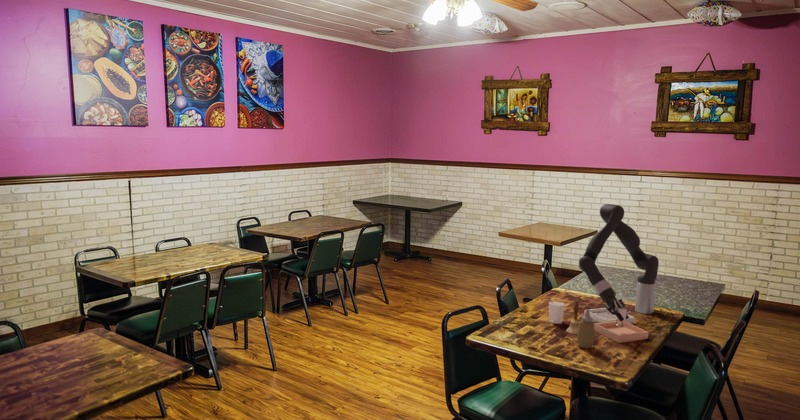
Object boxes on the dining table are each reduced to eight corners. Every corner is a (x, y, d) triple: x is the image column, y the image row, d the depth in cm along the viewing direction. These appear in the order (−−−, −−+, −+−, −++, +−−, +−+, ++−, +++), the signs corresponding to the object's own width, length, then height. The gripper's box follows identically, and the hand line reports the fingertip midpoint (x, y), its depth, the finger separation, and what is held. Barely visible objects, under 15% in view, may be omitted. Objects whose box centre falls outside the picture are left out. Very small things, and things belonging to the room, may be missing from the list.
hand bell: (564, 328, 290) (566, 298, 288) (580, 329, 290) (582, 299, 288) (568, 334, 282) (570, 303, 280) (585, 335, 282) (587, 304, 279)
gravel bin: (610, 313, 317) (610, 307, 317) (633, 323, 300) (634, 317, 300) (584, 316, 311) (584, 310, 310) (606, 326, 294) (607, 320, 294)
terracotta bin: (621, 326, 295) (622, 320, 295) (647, 338, 278) (648, 331, 278) (593, 330, 289) (594, 323, 288) (618, 342, 272) (619, 335, 272)
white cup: (563, 320, 303) (564, 302, 302) (562, 325, 296) (564, 306, 294) (548, 318, 306) (549, 300, 304) (547, 323, 298) (548, 304, 297)
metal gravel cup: (620, 323, 286) (622, 306, 284) (627, 326, 282) (628, 308, 280) (613, 324, 284) (615, 307, 283) (620, 327, 280) (621, 309, 279)
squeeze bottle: (573, 343, 270) (576, 307, 267) (589, 343, 271) (592, 306, 268) (580, 349, 262) (582, 312, 259) (597, 349, 263) (599, 312, 260)
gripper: (602, 288, 281) (623, 318, 274) (616, 284, 291) (637, 313, 283) (592, 296, 286) (612, 326, 279) (606, 292, 295) (626, 320, 288)
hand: (624, 319), depth 281 cm, fingers closed on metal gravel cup, 4 cm apart
